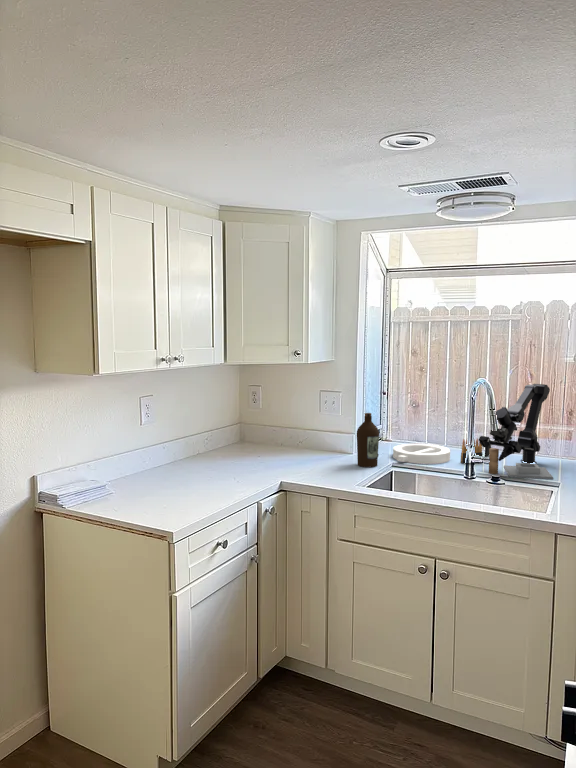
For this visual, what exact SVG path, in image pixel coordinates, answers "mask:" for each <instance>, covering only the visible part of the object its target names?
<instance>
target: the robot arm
mask: <svg viewBox="0 0 576 768" xmlns="http://www.w3.org/2000/svg"><path fill="white" fill-rule="evenodd" d="M550 392H551V390H550V387H549V386H548V384H543V383H533V384H526V385H525V386H524V389H523V391H522V392H521V394H520V396H519V397H518V398H517V400H516V402H515V403H514V404H513V405H511V406H509V408H508V407H506V406H502V407H501V408H499V409H497V410H496V411H495V412H496V415H497V419H496V421H497V420H498V421H497V422H498V425H500V428H498V427H497V428H498V429H497V431H492V430H491V429H490V432H489V435H490V436H491V437H492V439H490V437H489V436H485V435H480V436H479V437H478V443H479V442H480V443H481V445H482V448H484V458H485V457H487V458H489V449H490V448H493V447H492V446H497V447H501V448H503V449H502V451H501V453H500V455H499V459H498V462H501V461H503V460H504V459H506V458H507V457H509V456H510V455H512V454H513V455H514V454H520V453H521V452H522V459H521V460H522V461H524V462H527V463H533V462H536V452H537V453H539V452H540V451H541V444H540V443H539V441H538V435H537V431H536V430H537V426H538V422H539V418H540V414H541V409H542V407H543V405H542V404H543V403H544V402H545V401H546V400H547V399H548V397H549V394H550ZM529 403H530V404H529ZM528 405H530V406H529V410H528V415H527V419H526V423H525V427H524V429H523V430H520V431H519V432H518V437H517V440H512V439H513V437H512V435H513V434H514V431H516V432H517V431H518V427H517V424H516V423H522V422H523V420H524V418H525V415H526V414H525V410H526V408H527V407H528Z"/></svg>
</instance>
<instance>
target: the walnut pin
mask: <svg viewBox="0 0 576 768" xmlns="http://www.w3.org/2000/svg"><path fill="white" fill-rule="evenodd" d="M499 454H500V449H499V448H494V447H492V448H490V449H489V456H488V460H489V459H490V462H489V461H488V474H491V475H498V474H499V457H500V455H499Z"/></svg>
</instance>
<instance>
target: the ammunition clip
mask: <svg viewBox="0 0 576 768" xmlns="http://www.w3.org/2000/svg"><path fill="white" fill-rule="evenodd" d="M473 439H474V447H475V453H476V455H479V456H482V457H483V446H482V445H481V443H480V442H479V437H478V438H476V439H475V438H473ZM466 444H467V439H466V440H465V439H464V438H463V439H462V445H461V453H460V464H464V463H465V458H466V451H467V449H466ZM465 464H466V463H465Z"/></svg>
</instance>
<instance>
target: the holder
mask: <svg viewBox="0 0 576 768" xmlns="http://www.w3.org/2000/svg"><path fill="white" fill-rule="evenodd" d="M503 468H505V469H504V470H505V472H506V473H507V476H508V478H521V479H526V478H527V479H538V480H539V479H540V480H542V479H543V480H554V476H553V475H552V474H551V473H550V471H549V470H548V469H547V468H546V467H545V466H544V467H541V466H539V464H538V463H537V464H530V463H522V462H515V465H503Z"/></svg>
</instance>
